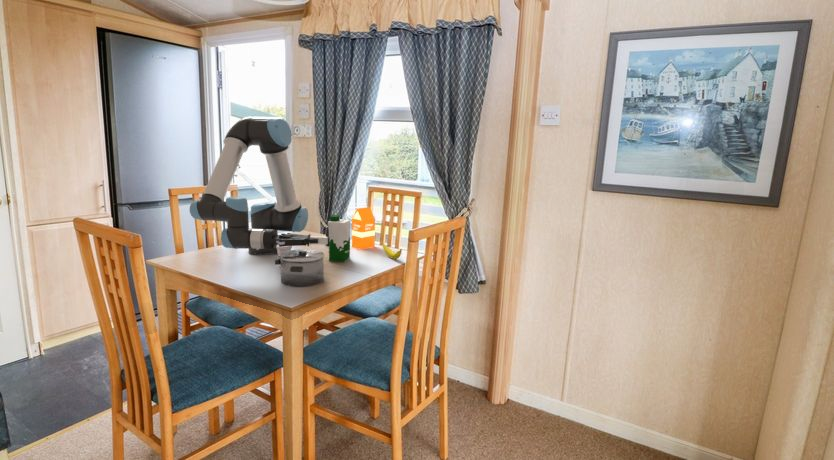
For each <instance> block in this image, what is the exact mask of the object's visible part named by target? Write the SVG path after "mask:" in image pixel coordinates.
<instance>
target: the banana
mask: <svg viewBox="0 0 834 460" xmlns="http://www.w3.org/2000/svg"><path fill="white" fill-rule="evenodd" d="M381 246H382V249H383V251H384V253H385V254H386V255H387V257H389V258H390V259H393V260H397V259H398V258H400V257H401V255H402V250H403V249H400V250H399V249H398V250H397V251H396V252H394V251H393V250H392V249H391V248H390V247H388V246H387V245H386V244H385V243H383V242H382V245H381Z"/></svg>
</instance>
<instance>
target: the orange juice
mask: <svg viewBox="0 0 834 460" xmlns="http://www.w3.org/2000/svg"><path fill="white" fill-rule="evenodd" d="M375 236H376V218H375V216H374V214H373V211H372V209H371V206H368V207H360V208H356V209H355V212H354V214H353V215H352V218H351V248H356V249H359V250H365V249H370V248H375V244H376V237H375Z"/></svg>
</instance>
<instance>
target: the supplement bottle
mask: <svg viewBox="0 0 834 460" xmlns="http://www.w3.org/2000/svg"><path fill="white" fill-rule="evenodd" d="M325 237H328V244H325V245H326V246H327V247H329V228H328V226H326V227H325Z"/></svg>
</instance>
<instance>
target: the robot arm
mask: <svg viewBox="0 0 834 460" xmlns="http://www.w3.org/2000/svg"><path fill="white" fill-rule="evenodd" d="M291 143H292V129H291V127H290V125H289V123H288V122H287V121H286V120H285V119H284V118H282V117H276V116H247V117H243V118H241V119H240V120H238V121H236V122H235V123H234V124H233V125H232V126H231V128H230V129H229V130H228V131H227V133H226V135H225V136H224V139H223V145H224V146H223V148H222V150H221V152H220V155H219V157H218V159H217V161H216V164H215V167H214V168H213V171H212V173H211V176H210V178H209V180H208V182H207V185H206V186H205V188H204V191H203V194H202V196H201V198H200V199H196V200H193V201H192V202H190V205H189V214H190V216H191V217H192V219H193V218H194V219H195V220H200V221H205V222H206V221H211V222H212V221H213V222H214V221H215V222H224V223H225V222H226V223H227V226H226V227H225V228H224V229H222V230H221V233H220V234H221V236H220V242H221V245H222V246H223V247H224V248H227V249H233V250H234V249H235V250H236V249H237V250H238V249H247V250H248V253H249V254H252V255H258V256H259V255H273V254H278V252H277V248H276V246H277V245H279V247H282V246H292V247H295V246H296V247H297V246H307V247H310V245H326V244H328V237H326V236H315V235H314V236H313V235H311V233H309V234H301V233H300V232H303V231H304V230H305V228H306V226H307V225H308V220H309V210H308V208H307V207H305V206H302V203H301V202H302V201H300V200H299V199H298V198H297V197H296V191H295V187H294V182H293V177H292V174H291V173H292V172H291V169H290V164H289V159H288V155H287V150H288V149H289V146H290V144H291ZM251 146H258V147H259V150H260V153H261V154H263V155H264V156H265V159H266V164H267V167H268V168H267V169H268V171H269V176H270V178H271V184H272V188H273V191H274V195H275V199H276V201H266V202H260V203H255V204H252V205H251V206H250V213H249V205H248V199H247V197H244V196H228V197H227V198H226V199H225V197H226V194H227V192H228V190H229V188H230V185H231V183H232V181H233V178H234V176H235V173H236V171H237V170H238V169H237V168H238V167H239V163H240V162H241V159H242V157H243V154H244V153H246V152H247V151H248V149H249V147H251ZM224 199H225V201H224ZM249 214H250V222H249ZM249 224H251V228H250V225H249ZM279 231H282V232H287V233H281V234H278V232H279ZM290 232H292V233H290ZM295 232H296V233H295Z"/></svg>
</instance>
